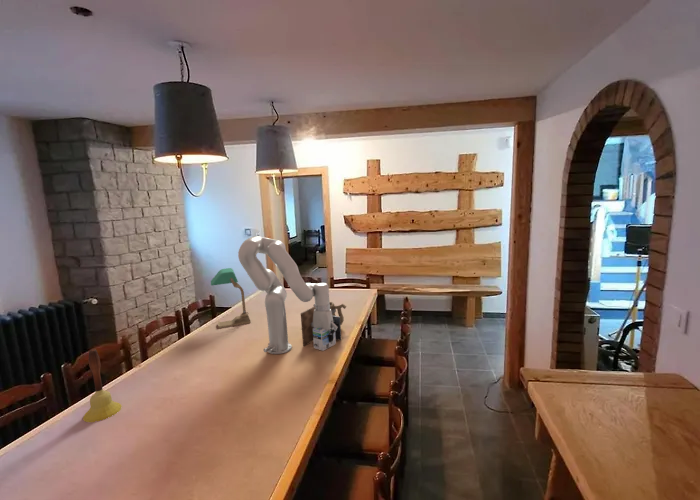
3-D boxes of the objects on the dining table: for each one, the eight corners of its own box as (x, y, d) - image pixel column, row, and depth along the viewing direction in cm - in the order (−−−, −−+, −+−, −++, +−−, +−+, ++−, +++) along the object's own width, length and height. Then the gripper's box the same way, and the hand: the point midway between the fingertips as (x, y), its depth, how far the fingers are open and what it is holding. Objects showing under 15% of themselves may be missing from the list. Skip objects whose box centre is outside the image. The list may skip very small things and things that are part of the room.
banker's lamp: (251, 324, 225) (246, 270, 220) (216, 330, 218) (209, 274, 213) (248, 317, 240) (243, 266, 235) (215, 323, 232) (209, 270, 227)
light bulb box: (323, 351, 181) (321, 330, 179) (313, 348, 185) (311, 328, 184) (336, 343, 189) (335, 324, 188) (326, 341, 194) (325, 322, 192)
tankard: (312, 329, 213) (310, 304, 211) (323, 322, 224) (321, 298, 222) (341, 333, 204) (339, 307, 201) (351, 325, 215) (350, 301, 212)
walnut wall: (304, 346, 188) (301, 313, 186) (303, 346, 189) (300, 313, 186) (320, 336, 201) (318, 305, 199) (319, 335, 202) (316, 304, 199)
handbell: (115, 399, 146) (105, 341, 142) (126, 409, 138) (117, 348, 134) (78, 414, 136) (67, 352, 132) (88, 426, 128) (77, 360, 125)
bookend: (340, 340, 194) (339, 317, 192) (319, 336, 200) (318, 314, 198) (341, 339, 194) (340, 316, 192) (320, 336, 201) (318, 313, 199)
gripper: (304, 307, 185) (306, 340, 188) (333, 311, 177) (335, 345, 179) (312, 303, 192) (315, 335, 194) (340, 306, 183) (342, 339, 186)
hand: (324, 339), depth 187 cm, fingers closed on light bulb box, 7 cm apart
